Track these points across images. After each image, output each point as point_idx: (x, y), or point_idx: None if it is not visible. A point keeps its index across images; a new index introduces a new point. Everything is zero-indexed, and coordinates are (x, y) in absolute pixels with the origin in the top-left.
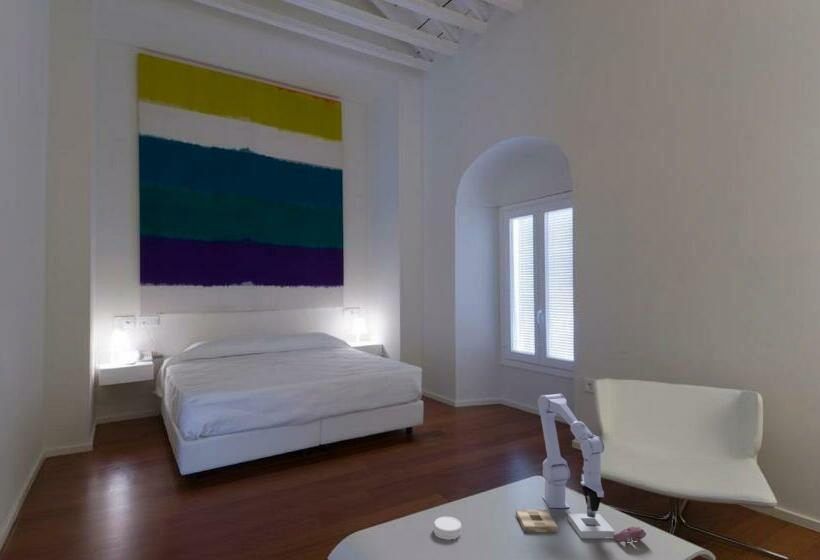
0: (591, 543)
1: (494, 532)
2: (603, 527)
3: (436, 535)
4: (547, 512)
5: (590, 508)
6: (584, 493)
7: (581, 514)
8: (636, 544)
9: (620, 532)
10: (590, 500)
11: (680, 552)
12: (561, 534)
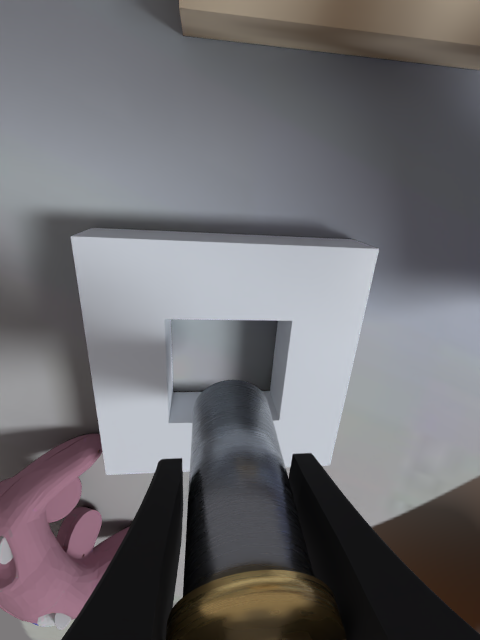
0: (29, 277)
1: None
2: (151, 428)
3: None
4: (473, 31)
5: (199, 463)
6: (394, 591)
7: (343, 352)
8: None
9: (16, 509)
10: (110, 608)
11: (29, 622)
12: (143, 62)
